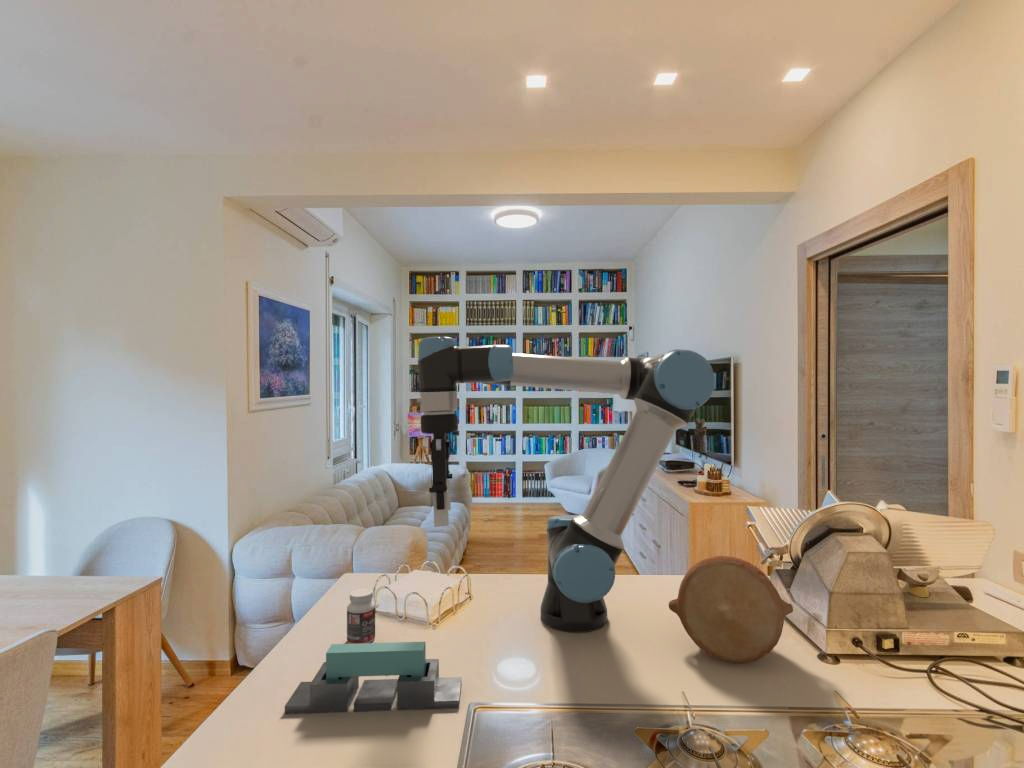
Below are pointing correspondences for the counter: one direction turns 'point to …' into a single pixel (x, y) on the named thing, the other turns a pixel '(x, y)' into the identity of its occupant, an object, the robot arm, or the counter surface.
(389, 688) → the rail
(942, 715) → the counter surface
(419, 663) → the clip
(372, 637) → the pill bottle
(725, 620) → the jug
